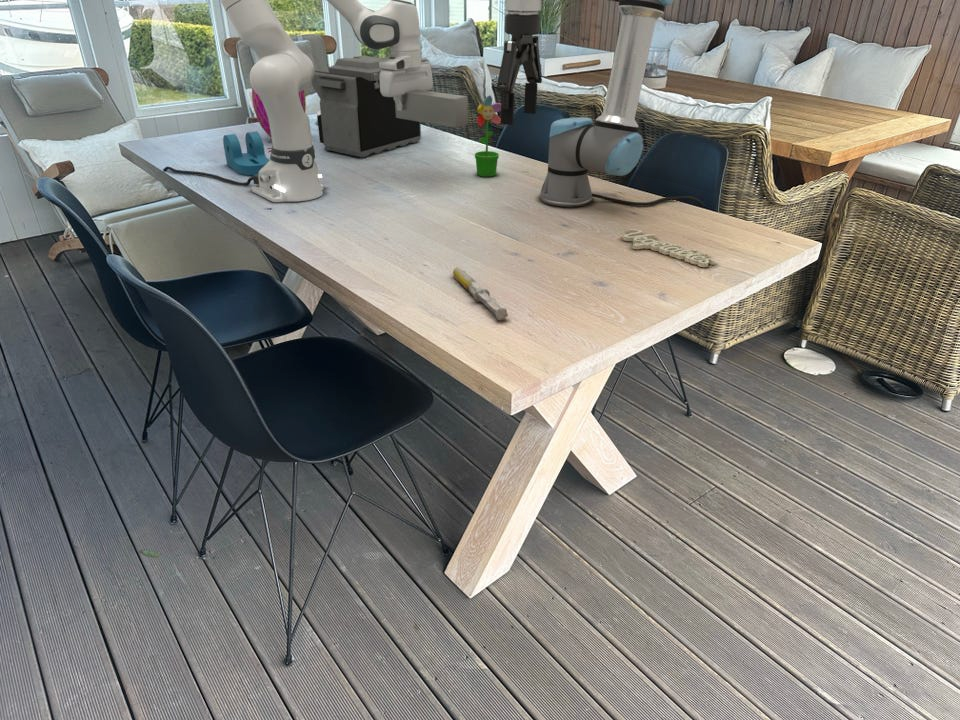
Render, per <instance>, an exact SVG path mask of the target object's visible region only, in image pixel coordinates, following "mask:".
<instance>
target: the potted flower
mask: <svg viewBox="0 0 960 720" xmlns="http://www.w3.org/2000/svg"><path fill="white" fill-rule="evenodd" d="M498 112H501V102H495V103H493V97H492V96H491V95H490V94H488V96H486V97H485V98H484V100H483V104H481V103H480V104H478V106H477V109H476V113H477V114H479V115H478V116H477V118H476V122H477V124H478V126H479V127H482V126H483V125H484V124H485V137H480V138H479V139H478V143H480V144H484V145H485V150H482V151H477V152H474V158H475V164H476V174H477V175H478V176H480V177H486V178H487V177H488V178H489V177H494V176H496V174H497V168H498V160H499V157H500V153H498V152H496V151H492V150H489V138H490V137H492V136H493V134H494V132H493V131H489V121H490V122H491V123H492V124H495V125H500V124H501V116H500V115H498V114H497V113H498ZM501 125H502V124H501Z"/></svg>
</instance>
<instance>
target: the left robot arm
mask: <svg viewBox="0 0 960 720" xmlns="http://www.w3.org/2000/svg"><path fill="white" fill-rule="evenodd" d="M219 1H220V3H221V5H222V7H223V9H224V11H225V12H226V14H227V17H228V18H229V20H230V22H231V23H232V25H233V27H234V30H235V31H236V32H237V34H238V36H239V38H240V40H241V41H242V42H243V44H245V45H246V46H248V47H249V48H250V49H251V50H252V51H253V52H254V53H255V54H256V55H257V57H259V60H258V61H256V63H254V65H253V66H252V67H251V69H250V71H249V83H250V86H251V89H252V88H253V90H254V91H255V92H256V93H257V94H258V95H259V96H260V98H261V100H262V103H263V105H264V108H265V110H266V113H267V116H268V120H269V125H270V131H271V137H270V138H271V143H272V147H268V148H267V150H268V151H267V153H270V157H269V160H270V161H269V162H268V163H267V164H266V165H265V166H264V167H263V168H262V169H261V170H260V171H259V174H257V175H252V176H250V177H248V178H247V181H246V182H239V181H236V180H233V179H230V178H225V177H222V176H220V175H216V174H213V173H207V172H202V171H194V170H180V169H176V168H173V167H171V166H165V167H164V168H163V170H162V171H163V172H167V171H168V170H169V171H171V172H173V173H176V174H186V175H197V176H204V177H208V178H209V177H210V178H212V179H217V180H219V181H222V182H226V183H230V184H233V185H237V186H243V187H245V186H249V185H250V184H251V182H252V181H253V184H254V186H252V187H251V192H252V193H253V194H256V195H258V196H260V197H262V198H264V199H266V200H268V201H271V202H273V203H283V202H305V201H311V200H314V199H317V198H320V197H322V196H323V194H324V191H323V190H324V189H325V186H324V184H322V181H321V179H322V178H323V175H322V174H321V173H320V172H319V167H318V163H317V162H316V161H315V159H316V154H315V153H316V151H315V147H314V145H313V142H312V141H313V140H312V132H311V122H310V117H309V116H308V114H307V113H306V111H305V112H304V110H303V107H302V105H301V102H300V98H299V92H300V91H302V90H304V91H305V90H306V89H307V88H308V87H309V85H310V84H312V80H313V78H314V71H315V66H314V63H313V61H312V59H311V58H310V57H309V56H308V55H307V54H306V53H304V52H303V51H302V50H301V49H300V48H299V47H298V46H297V44H296V43H295V42H294V40H293V39H292V38H291V36H290V35H289V34H288V32H287V31H286V30H285V28H284V27H283V26H282V24H281V22H280V21H279V19H278V18H277V15H276V14H275V12H274V10H273V8H272V6H271V4H270V3H269V1H268V0H219ZM326 1H327V2H328V3H329V4H330V5H331V6H332V7H333V8H334V9H335V10H336V11H337V12H338V13H339V14H340V15H341V16H342V17H343V18H344V19H345V20H346V21H347V22H348V23H349V25H350V27H351V28H352V31H353V33H354V35H355V38H356V39H357V41H358V42H359V43H360V44H361V45H363V46H365V47H367V48H369V49H371V50H374V51H379V50H383V49H386V48H390V53H389V54H388V55H386V57H383V58H384V59H382V60H381V61H380V62H379V67H380V68H381V69H382V70H381V72H380V92H381V94H382V95H383V96H385V97H393V99H394V101H395V102H396V104H397V110H399V111H401V110H404V104H402V102H401V100H400V99H401V95H404V94H405V92H409V91H414V90H425V91H430V90H432V89H433V87H434V79H433V70H432V67H431V61H430V60H429V59H428V58H427V57H422V53H421V52H422V51H421V46H420V45H421V44H420V34H421V31H420V30H421V29H420V18H419V17H420V16H419V11H418V8H417V6H416V5H415V4H414V3H413V2H411V1H406V0H390V1H389V2H388V3H387V4H386V5H384V6H382V7H381V8H379V9H377V10H373V9H370V8H367V7H366V6H364V5H363V4H362V3H361V2H360V1H359V0H326Z"/></svg>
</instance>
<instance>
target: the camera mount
mask: <svg viewBox="0 0 960 720" xmlns="http://www.w3.org/2000/svg"><path fill="white" fill-rule="evenodd" d="M222 140H223V141H222V143H223V149H224V150H223V151H224V156H225V161H226V165H227V166H228V167H230V168H231V169H232V170H234V171H236V172H237V173H238V174H239V175H244V176H254V175H257V174H259V171H260V170H261V169H262V168H263V167H264V166H265V165H266V164H267V163H268V162H269V161H270V160H271V159H270V158H268V157H267V156H266V153H265V145H264V141H263V139H262V136H261V134H260V132H258V131H247V132H246V133H245V146H246V152H243V151H242V150H243V149H242V146H241V142H240V140H239V138H238V135H236V134H235V133H231V134H224V135H223V138H222Z"/></svg>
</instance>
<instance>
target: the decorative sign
mask: <svg viewBox="0 0 960 720" xmlns="http://www.w3.org/2000/svg"><path fill="white" fill-rule="evenodd" d="M622 240H623V241H624V242H625V241H626V242H632V249H633V250H643V249H646V250H647V249H648V250H649V249H650V250H651V251H655V252H658V253H660V254H663V255H665V256H667V255H668V256H669V257H672V258H675V259H676V260H677V259H678V260H684V262H686V263H690V264H692V265H697V266H698V267H700V268H708V267H709V264H710V265H711V266H713V265H714V264H715V259H713V258H710V257H708V255H709V253H708V252H705V251H704V252H698V249H697V248H690V249H689V248H688V249H683V248H682V245H679V244H678V243H672V242H669V241H667V242H660V241H659V240H656V239H655V234H654V233H647V234H646V233H645V234H643V230H640V229H636V228H629V230H628V233H625V234H623V237H622Z"/></svg>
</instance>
